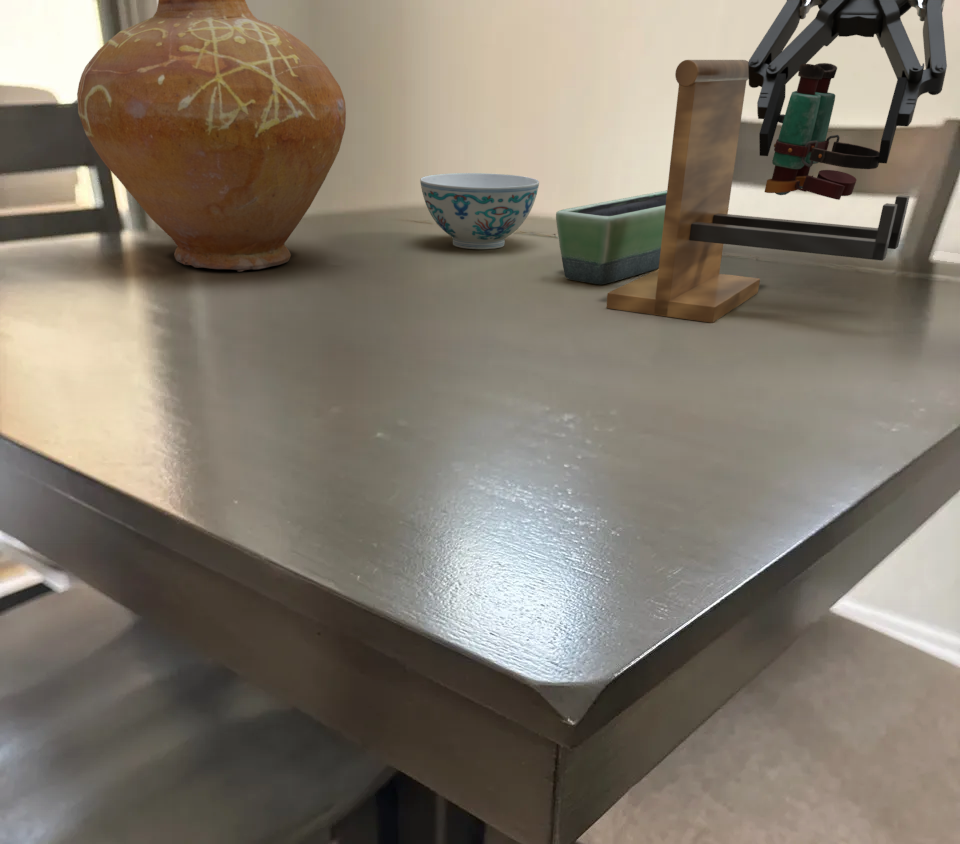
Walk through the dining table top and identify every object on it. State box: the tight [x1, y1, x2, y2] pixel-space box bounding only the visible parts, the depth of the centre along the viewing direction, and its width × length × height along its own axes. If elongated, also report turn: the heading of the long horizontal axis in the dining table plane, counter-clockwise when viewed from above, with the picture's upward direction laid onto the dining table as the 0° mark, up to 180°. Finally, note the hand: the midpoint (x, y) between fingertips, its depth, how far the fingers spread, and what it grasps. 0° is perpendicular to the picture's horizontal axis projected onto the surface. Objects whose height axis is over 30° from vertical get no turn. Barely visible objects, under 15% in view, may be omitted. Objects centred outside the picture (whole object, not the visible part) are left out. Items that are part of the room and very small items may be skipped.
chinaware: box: [419, 172, 540, 250], centre depth 125 cm, size 15×15×8 cm
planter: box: [555, 189, 667, 285], centre depth 114 cm, size 28×7×7 cm, turn 142°
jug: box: [76, 0, 347, 272], centre depth 106 cm, size 28×28×30 cm
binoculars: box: [764, 62, 880, 201], centre depth 88 cm, size 9×11×10 cm
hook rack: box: [606, 59, 911, 324], centre depth 93 cm, size 24×17×22 cm
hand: (822, 148), depth 86 cm, fingers closed on binoculars, 10 cm apart
